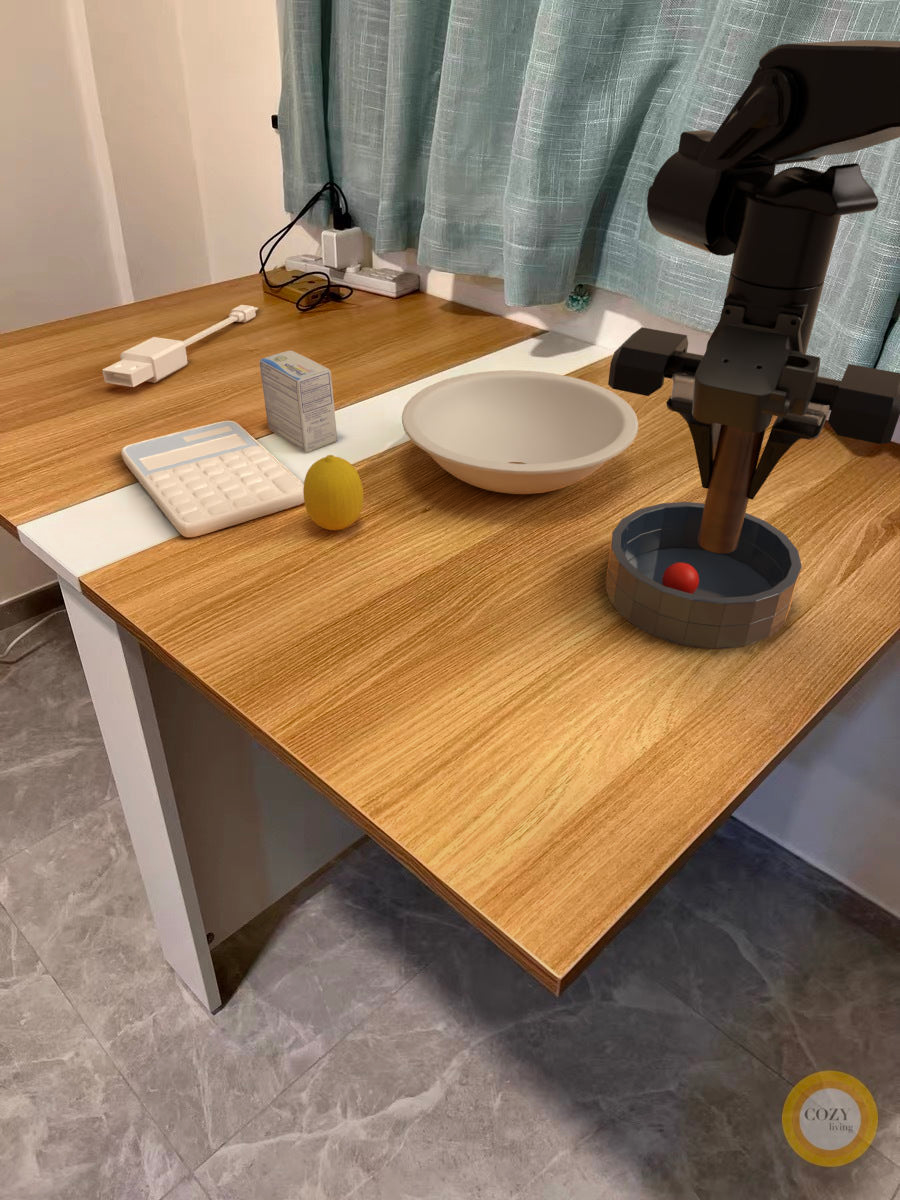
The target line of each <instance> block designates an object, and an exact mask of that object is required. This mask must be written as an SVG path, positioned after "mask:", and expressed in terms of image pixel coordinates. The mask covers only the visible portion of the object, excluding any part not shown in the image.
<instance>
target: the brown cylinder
mask: <svg viewBox="0 0 900 1200" xmlns="http://www.w3.org/2000/svg"><path fill="white" fill-rule="evenodd" d="M766 430H767V429H765V430H764V431H762V432H758V433H749V432H744V431H741V430H740V429H739V428H736V427H732V426H727V425H722V424H721V428H720V433H719V438H718V442H717V447H716V452H715V457H714V462H713V467H712V472H711V477H710V481H709V486H708V489H707V491H706V496H705V501H704V503H705V505H704V510H703V515H702V519H701V524H700V529H699V534H698V539H697V541H698V544H699V545H700V546H701V547H702V548H703V549H705V550H707V551H710V552H713V553H719V554H725V553H730V552H733V551H734V550H735V549H736V548H737V546H738V542H739V538H740V534H741V529H742V525H743V521H744V517H745V513H747V509H748V505H749V500H750V499H748V493H749V488H750V484H751V481H752V478H753V476H754V473H755V471H756V468H757V466H758V463H759V460H760V455H761V450H762V446H763V443H764V442H763V441H764V438H765V434H766Z"/></svg>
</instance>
